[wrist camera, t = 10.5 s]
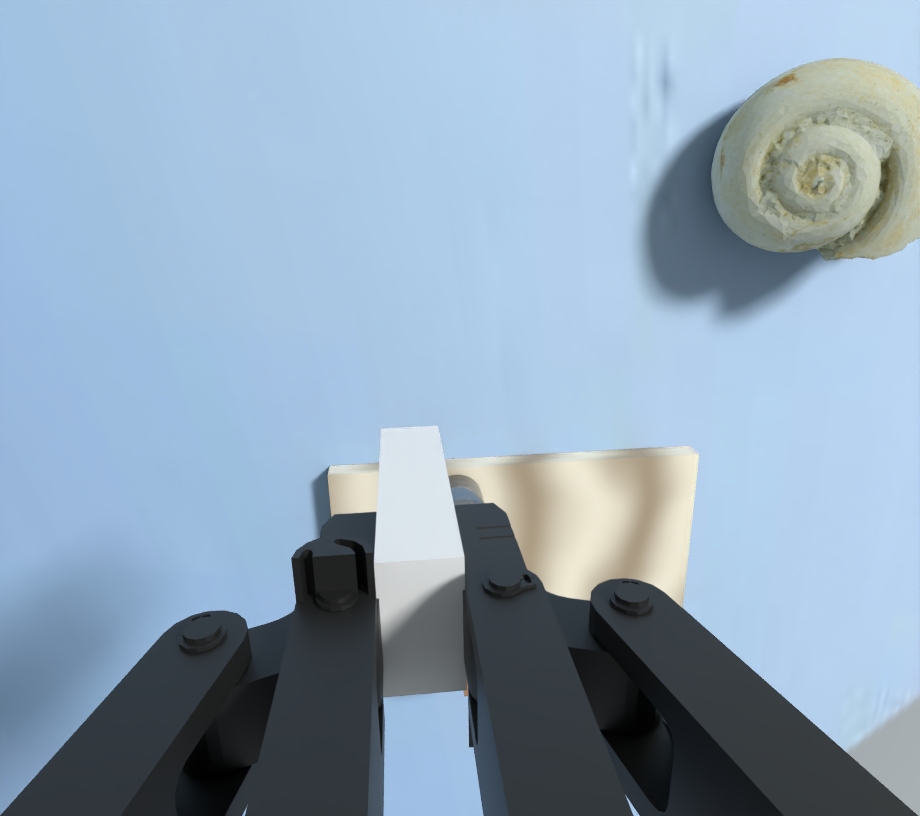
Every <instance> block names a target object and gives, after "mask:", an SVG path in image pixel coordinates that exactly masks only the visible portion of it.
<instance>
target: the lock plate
mask: <svg viewBox="0 0 920 816" xmlns="http://www.w3.org/2000/svg"><path fill="white" fill-rule="evenodd" d="M698 461H699V454H698V453H697V452H696V451H695V450H693V449H692V448H691V447H690V446H679V447H660V448H642V449H624V450H606V451H588V452H570V453H552V454H534V455H516V456H498V457H480V458H462V459H445V463H446V468H447V473H448V476H450V475H457V474H458V475H465V476H468V477H470V478H472V479H473V480H474V481H475V482H476V483H477V484H478V485H479V487H480V490H481V493H482V496H483V500H484V503H494V504H496V505H497V506H498V507H499V508H501V509H502V510H503V511H505V512H506V513H507V516H508V518H509V521H510V524H511V528H512V529H513V532H514V535H515V538H516V540H517V543H518V546H519V548H520V551H521V554H522V557H523V559H524V562H525V565H526V567H527V570H529V571H531V572H532V573H534V574H536V575H537V576H538V577H539V579H540V580H541V581H542V583H543V585H544V588H545V590H546V591H547V592H550V593H553V594H555V595H558V596H562V597H567V598H573V599H581V600H589V601H590V598H591V591H592V590H593V589H594V588H595V587H596V586H597V584H599V583H602V582H604V581H607V580H610V579H620V578H629V579H636V580H640V581H643V582H646V583H649V584H652V585H654V586H655V587H657V588H659V589H660V590H662V591H663V592H665V593H666V594H667V595H668V596H669V597H671V598H672V599H673V600H674V601H675V602H676V603H677V604H678V605H680V606H681V607H682V608H683V599H684V590H685V581H686V572H687V562H688V553H689V544H690V535H691V525H692V516H693V507H694V498H695V488H696V479H697V470H698ZM378 478H379V463H372V464H354V465H336V466H330V467H329V472H328V485H329V496H330V508H331V517H332V516H333V515H334V514H348V513H364V512H377V496H378Z"/></svg>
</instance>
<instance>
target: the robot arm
mask: <svg viewBox="0 0 920 816" xmlns="http://www.w3.org/2000/svg"><path fill="white" fill-rule="evenodd" d="M291 560H292V568H293V577H294V586H295V594H296V605H295V609H294V611H293V612H292V613H290V614H289V615H287V616H285V617H283V618H281V619H279V620H276V621H273V622H270V623H268V624H264V625H261V626H257V627H253V628H250V629H248V627H247V623H246V620H245V619H244V618H242V617H241V616H240V615H239V614H237V613H233V612H228V611H208V612H203V613H199V614H196V615H193V616H190V617H188V618H186V619H184V620H182V621H180V622H178V623H176V624H175V625H173V626H172V627H171V628H170V629H168V630H167V631H166V632H165V633H164V634H163V635H162V636H161V637H160V638H159V639H158V640H157V641H156V643H155V644H154V645H153V646H152V647H151V648H150V649H149V650H148V651H147V653H146V654H145V655H144V656H143V657H142V658H141V659H140V660H139V662H138V663H137V664H136V665H135V666H134V667H133V668H132V669H131V670H130V672H129V673H128V674H127V675H126V676H125V677H124V678H123V679H122V680H121V682H120V683H119V684H118V685H117V686H116V687H115V688H114V689H113V691H112V692H111V693H110V694H109V695H108V696H107V697H106V698H105V699H104V701H103V702H102V703H101V704H100V705H99V706H98V707H97V708H96V709H95V711H94V712H93V713H92V714H91V715H90V716H89V717H88V718H87V720H86V721H85V722H84V723H83V724H82V725H81V726H80V727H79V728H78V730H77V731H76V732H75V733H74V734H73V735H72V736H71V737H70V738H69V740H68V741H67V742H66V743H65V744H64V745H63V746H62V747H61V749H60V750H59V751H58V752H57V753H56V754H55V755H54V756H53V757H52V759H51V760H50V761H49V762H48V763H47V764H46V765H45V766H44V767H43V769H42V770H41V771H40V772H39V773H38V774H37V775H36V776H35V778H34V779H33V780H32V781H31V782H30V783H29V784H28V785H27V786H26V788H25V789H24V790H23V791H22V792H21V793H20V794H19V795H18V796H17V798H16V799H15V800H14V801H13V802H12V803H11V804H10V805H9V807H8V808H7V809H6V810H5V811H4V812H3V813H2V814H1V815H0V816H242V815H243V813H244V811H245V809H246V807H247V810H246V814H245V816H383V807H384V730H385V719H384V704H383V697H393V696H405V695H416V694H427V693H438V692H450V691H461V690H467V683H468V706H469V747H474V753H475V760H476V767H477V774H478V780H479V787H480V794H481V801H482V808H483V815H484V816H633V814H632V811H631V808H630V806H629V803H628V801H627V798H626V796H627V797H628V799H629V800H630V802H631V803H632V805H633V806H634V808H635V809H636V811H637V812H638V814H639V815H640V816H918V815H917V814H916V813H914V812H913V811H912V810H911V809H910V808H909V807H908V806H906V805H905V804H904V803H903V802H902V801H901V800H899V798H897V797H896V796H895V795H894V794H893V793H892V792H890V791H889V790H888V789H887V788H886V787H885V786H884V785H883V784H881V783H880V782H879V781H878V780H877V779H876V778H874V777H873V776H872V775H871V774H870V773H869V772H868V771H867V770H866V769H865V768H863V767H862V766H861V765H860V764H859V763H858V762H856V761H855V760H854V759H853V758H852V757H851V756H850V755H849V754H848V753H846V752H845V751H844V750H843V749H842V748H841V747H840V746H838V745H837V744H836V743H835V742H834V741H833V740H832V739H830V738H829V737H828V736H827V735H826V734H825V733H824V732H823V731H821V730H820V729H819V728H818V727H817V726H816V725H815V724H813V723H812V722H811V721H810V720H809V719H808V718H807V717H806V716H804V715H803V714H802V713H801V712H800V711H799V710H798V709H796V708H795V707H794V706H793V705H792V704H791V703H790V702H789V701H787V700H786V699H785V698H784V697H783V696H782V695H781V694H779V693H778V692H777V691H776V690H775V689H774V688H773V687H771V686H770V685H769V684H768V683H767V682H766V681H765V680H764V679H762V678H761V677H760V676H759V675H758V674H757V673H756V672H754V671H753V670H752V669H751V668H750V667H749V666H748V665H747V664H745V663H744V662H743V661H742V660H741V659H740V658H739V657H737V656H736V655H735V654H734V653H733V652H732V651H731V650H730V649H728V648H727V647H726V646H725V645H724V644H723V643H722V642H720V641H719V640H718V639H717V638H716V637H715V636H714V635H713V634H711V633H710V632H709V631H708V630H707V629H706V628H705V627H703V626H702V625H701V624H700V623H699V622H698V621H697V620H695V619H694V618H693V617H692V616H691V615H690V614H689V613H688V612H686V611H685V610H684V609H683V608H682V607H681V606H680V605H678V604H677V603H676V602H675V601H674V600H673V599H672V598H671V597H669V596H668V595H667V594H666V593H665V592H663V591H662V590H660V589H659V588H657V587H655V586H654V585H652V584H649V583H646V582H643V581H640V580H636V579H629V578H620V579H610V580H607V581H604V582H602V583H599V584H597V586H596V587H595V588H594V589H593V590H592V591H591V598H590V601H589V600H581V599H573V598H567V597H562V596H558V595H555V594H553V593H550V592H547V591H546V590H545V588H544V585H543V583H542V581H541V580H540V579H539V577H538V576H537V575H536V574H534V573H532V572H531V571H529V570H527V567H526V565H525V562H524V559H523V557H522V554H521V551H520V548H519V546H518V543H517V540H516V538H515V535H514V532H513V529H512V528H511V524H510V521H509V518H508V516H507V513H506V512H505V511H503V510H502V509H501V508H499V507H498V506H497V505H496V504H494V503H481V504H465V505H454V503H453V498H452V493H451V488H450V483H449V478H448V473H447V468H446V463H445V458H444V453H443V448H442V443H441V438H440V433H439V429H438V426H420V427H401V428H381V440H380V459H379V478H378V496H377V512H364V513H348V514H334V515H333V516H332V517H331V518H330V519H329V520H328V521H327V522H326V523H325V524H324V525H323V526H322V531H321V535H320V538H319V539H316V540H313V541H311V542H308V543H306V544H305V545H303V546H302V547H300V548H299V549H297V550H296V552H295V553H294V555H293V557H292V558H291ZM625 795H626V796H625ZM247 805H248V806H247Z"/></svg>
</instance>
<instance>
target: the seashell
mask: <svg viewBox="0 0 920 816" xmlns="http://www.w3.org/2000/svg"><path fill="white" fill-rule="evenodd" d="M711 182H712V191H713V197H714V201H715V205H716V208H717V210H718V212H719V214H720V216H721V218H722V219H723V221H724V222H725V224H726V225H727V226H728V227H729V228H730V229H731V230H732V231H733V232H734V233H735V234H736V235H737V236H738V237H740V238H741V239H743V240H744V241H745V242H747V243H749V244H751V245H753V246H755V247H757V248H761V249H764V250H768V251H773V252H784V253H791V252H802V251H807V250H811V249H816V250H818V251H819V252H820V253H821V255H822V256H823V258H824V259H825V260H830V259H834V260H835V259H841V258H845V259H853V258H856V257H859V258H869V259H876V258H879V257H884V256H888V255H891V254H893V253H896V252H898V251H900V250H902V249H904V248H905V247H906V245H907V244H908V243H910V242H912V241H914V240H915V239H919V238H920V89H918V88H917V87H916V86H915V85H914V84H913V83H912V82H910V81H909V80H908V79H906V78H905V77H903V76H902V75H900V74H898V73H896V72H895V71H893V70H891V69H889V68H886V67H884V66H881V65H878V64H875V63H872V62H868V61H863V60H858V59H846V58H835V59H825V60H820V61H815V62H811V63H807V64H804V65H801V66H798V67H796V68H793V69H791V70H789V71H787V72H785V73H783V74H781V75H779V76H778V77H776V78H774V79H772V80H771V81H769V82H768V83H766V84H765V85H764V86H762V87H761V88H760V89H758V90H757V91H756V92H755V93H753V94H752V95H751V96H750V97H749V98H748V99H747V100H746V101H745V102H744V103H743V104H742V105H741V106H740V108H739V109H738V110H737V111H736V112H735V113H734V115H733V116H732V117H731V119H730V120H729V122H728V123H727V125H726V127H725V129H724V131H723V132H722V135H721V137H720V139H719V142H718V144H717V147H716V151H715V154H714V158H713V163H712V170H711Z"/></svg>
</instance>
